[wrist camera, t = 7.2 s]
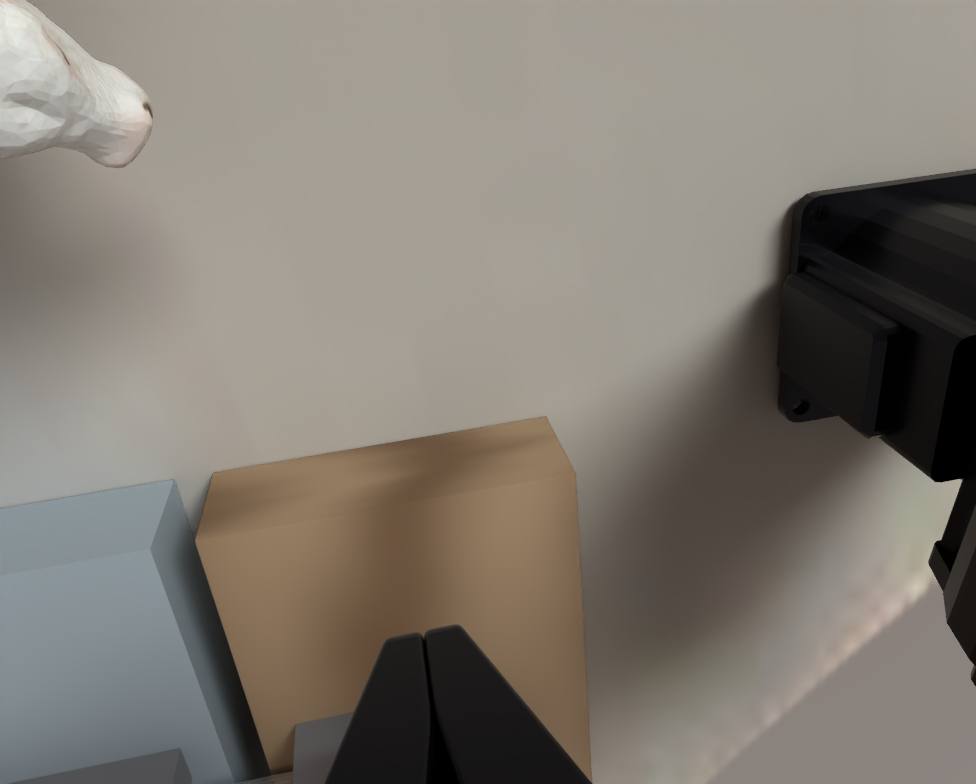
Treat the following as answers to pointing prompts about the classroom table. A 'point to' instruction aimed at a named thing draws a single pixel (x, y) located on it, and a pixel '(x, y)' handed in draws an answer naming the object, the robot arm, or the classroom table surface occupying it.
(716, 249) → the classroom table surface
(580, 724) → the jamb
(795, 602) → the classroom table surface
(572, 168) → the classroom table surface
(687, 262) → the classroom table surface
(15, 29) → the bull figurine
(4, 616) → the door panel
